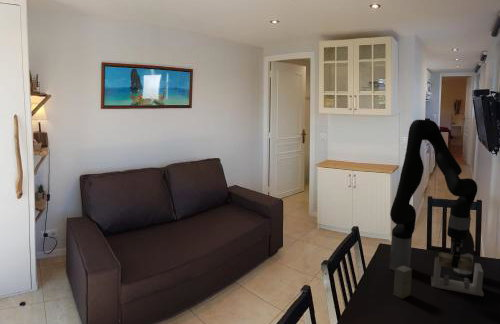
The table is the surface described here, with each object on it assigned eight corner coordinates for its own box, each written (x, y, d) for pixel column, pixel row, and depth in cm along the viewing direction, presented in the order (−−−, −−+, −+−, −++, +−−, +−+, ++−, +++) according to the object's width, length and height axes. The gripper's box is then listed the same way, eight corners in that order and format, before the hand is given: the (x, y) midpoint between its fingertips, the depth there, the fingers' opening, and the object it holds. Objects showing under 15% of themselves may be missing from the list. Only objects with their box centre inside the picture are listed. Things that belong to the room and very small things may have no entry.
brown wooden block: (438, 265, 151) (439, 256, 150) (437, 260, 155) (438, 252, 155) (471, 271, 146) (472, 262, 145) (470, 266, 150) (471, 257, 150)
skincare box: (402, 299, 151) (404, 272, 149) (392, 294, 155) (394, 268, 153) (410, 295, 154) (412, 268, 153) (401, 290, 158) (403, 264, 156)
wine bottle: (466, 270, 178) (472, 212, 173) (475, 278, 170) (481, 217, 165) (449, 269, 179) (455, 211, 174) (457, 277, 171) (463, 216, 166)
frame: (431, 286, 162) (433, 263, 160) (430, 278, 170) (432, 256, 168) (483, 296, 153) (486, 272, 152) (480, 287, 162) (482, 264, 160)
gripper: (447, 219, 156) (443, 256, 158) (449, 229, 143) (444, 269, 146) (467, 222, 152) (462, 259, 155) (471, 233, 140) (466, 273, 143)
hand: (454, 264), depth 150 cm, fingers closed on brown wooden block, 5 cm apart
